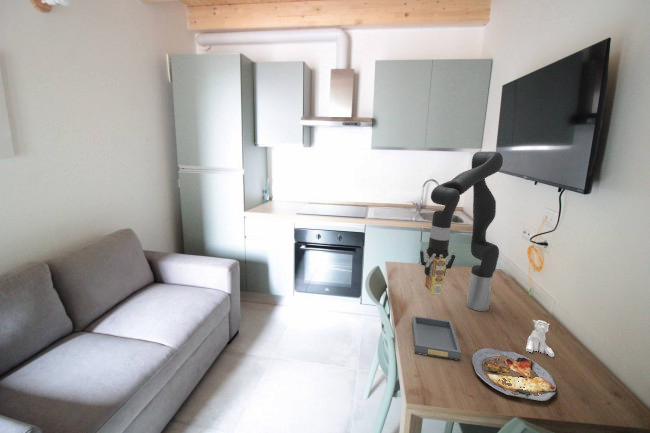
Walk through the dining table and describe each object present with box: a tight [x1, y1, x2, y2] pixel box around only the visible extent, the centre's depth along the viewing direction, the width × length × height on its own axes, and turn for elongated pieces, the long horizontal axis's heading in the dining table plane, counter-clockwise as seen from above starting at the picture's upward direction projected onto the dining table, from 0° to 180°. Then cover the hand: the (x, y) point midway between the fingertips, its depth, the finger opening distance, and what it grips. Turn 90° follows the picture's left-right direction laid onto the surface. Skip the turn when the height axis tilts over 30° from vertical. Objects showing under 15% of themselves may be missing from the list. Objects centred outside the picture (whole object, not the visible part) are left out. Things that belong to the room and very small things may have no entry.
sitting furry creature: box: [525, 319, 555, 358], centre depth 120 cm, size 10×9×12 cm
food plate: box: [471, 347, 558, 402], centre depth 106 cm, size 25×23×4 cm
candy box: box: [423, 255, 447, 296], centre depth 127 cm, size 9×4×15 cm, turn 6°
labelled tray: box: [411, 315, 462, 361], centre depth 124 cm, size 16×21×4 cm
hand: (434, 275), depth 127 cm, fingers closed on candy box, 5 cm apart
